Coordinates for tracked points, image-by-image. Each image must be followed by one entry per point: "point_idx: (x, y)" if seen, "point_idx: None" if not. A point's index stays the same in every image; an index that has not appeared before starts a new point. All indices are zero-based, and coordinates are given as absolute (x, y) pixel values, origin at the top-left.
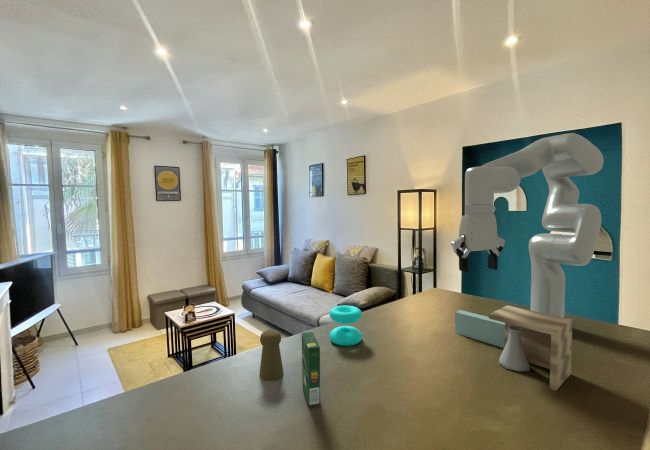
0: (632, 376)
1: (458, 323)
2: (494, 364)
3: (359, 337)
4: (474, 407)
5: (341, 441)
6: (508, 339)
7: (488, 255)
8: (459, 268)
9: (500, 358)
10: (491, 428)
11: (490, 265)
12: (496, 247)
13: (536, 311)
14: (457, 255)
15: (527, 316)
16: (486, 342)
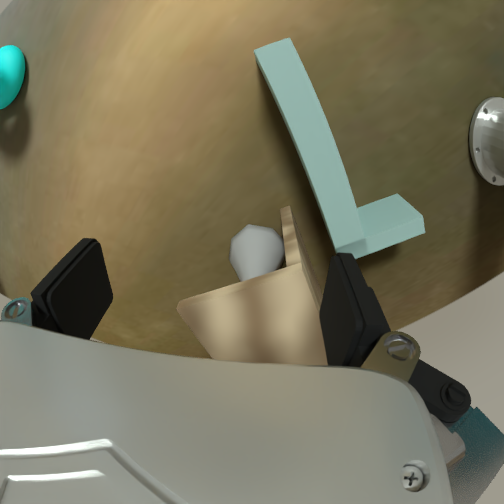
0: (394, 322)
1: (259, 65)
2: (222, 235)
3: (11, 95)
4: (118, 309)
5: (10, 296)
6: (243, 276)
7: (353, 333)
8: (81, 243)
9: (237, 240)
10: (120, 335)
11: (331, 292)
12: (432, 413)
13: (502, 143)
14: (11, 310)
15: (264, 349)
16: (293, 142)
